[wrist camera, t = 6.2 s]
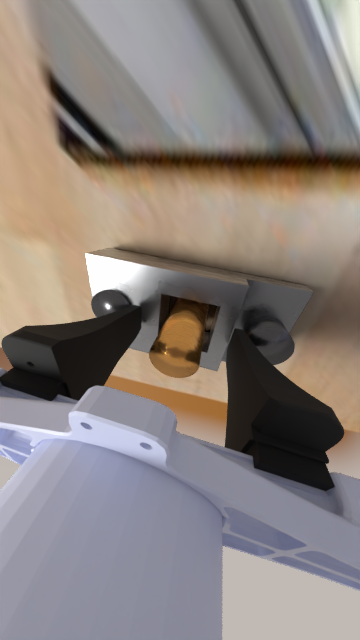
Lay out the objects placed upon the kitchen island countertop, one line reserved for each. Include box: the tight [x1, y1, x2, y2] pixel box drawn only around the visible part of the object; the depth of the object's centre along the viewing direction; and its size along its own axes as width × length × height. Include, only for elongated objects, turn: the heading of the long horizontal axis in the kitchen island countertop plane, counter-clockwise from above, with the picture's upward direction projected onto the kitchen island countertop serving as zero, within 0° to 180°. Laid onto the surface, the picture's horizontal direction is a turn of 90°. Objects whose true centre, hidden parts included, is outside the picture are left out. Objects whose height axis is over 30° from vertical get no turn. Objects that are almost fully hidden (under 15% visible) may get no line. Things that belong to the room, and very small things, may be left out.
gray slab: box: [86, 248, 314, 371], centre depth 14 cm, size 16×8×4 cm, turn 82°
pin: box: [149, 298, 208, 378], centre depth 13 cm, size 3×3×7 cm
